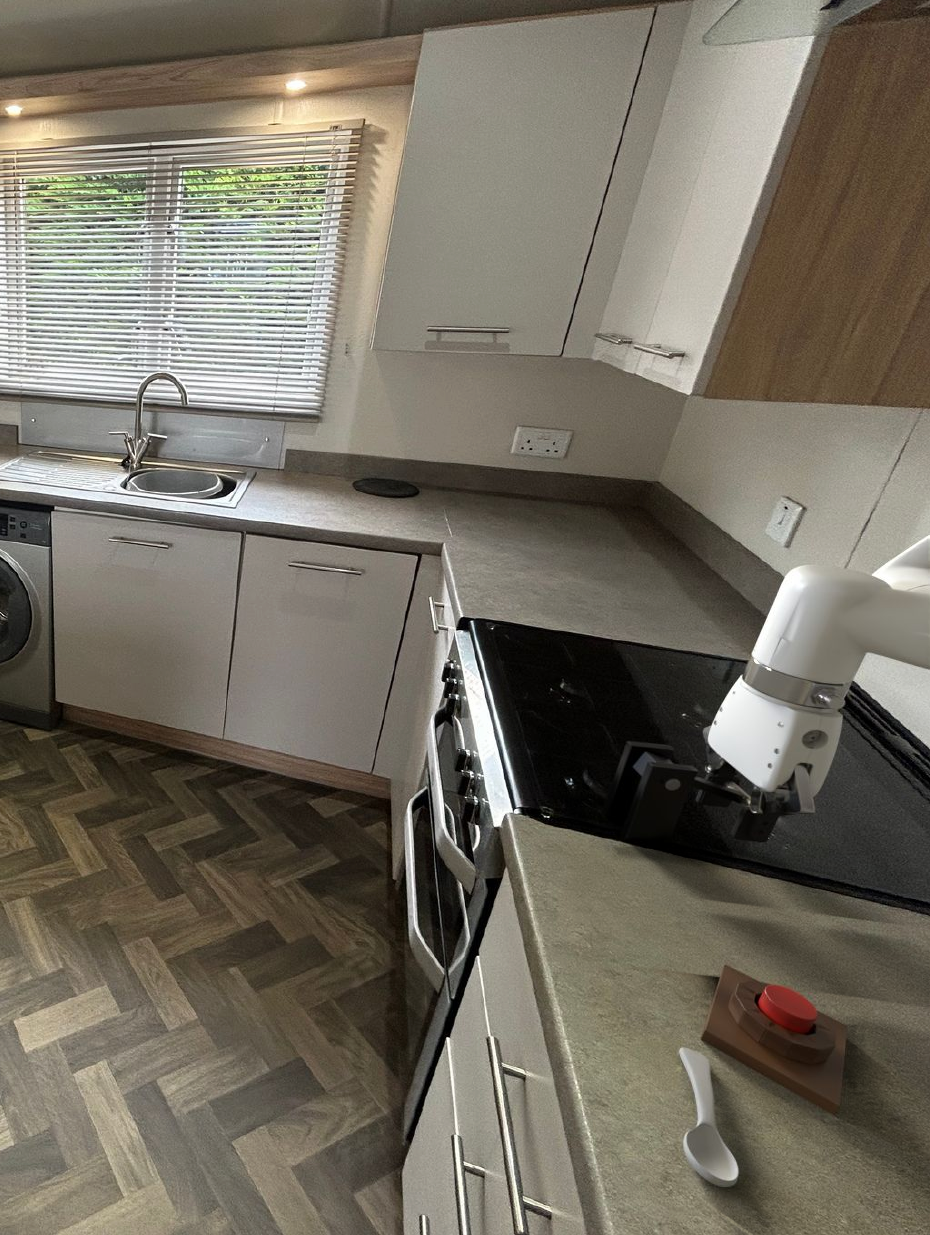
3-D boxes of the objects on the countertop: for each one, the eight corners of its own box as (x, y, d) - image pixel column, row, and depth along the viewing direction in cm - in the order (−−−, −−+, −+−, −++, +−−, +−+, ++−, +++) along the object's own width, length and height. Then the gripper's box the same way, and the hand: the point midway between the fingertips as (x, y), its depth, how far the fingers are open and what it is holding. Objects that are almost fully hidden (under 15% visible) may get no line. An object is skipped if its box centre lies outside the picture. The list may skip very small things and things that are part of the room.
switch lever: (726, 794, 81) (740, 778, 80) (758, 823, 77) (773, 807, 76) (625, 759, 82) (637, 743, 81) (650, 786, 77) (664, 769, 76)
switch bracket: (657, 819, 86) (690, 738, 82) (707, 873, 78) (746, 786, 73) (559, 808, 88) (586, 728, 83) (598, 859, 79) (630, 774, 75)
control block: (719, 972, 66) (731, 949, 65) (841, 1035, 60) (856, 1010, 59) (700, 1039, 60) (712, 1015, 59) (833, 1116, 54) (850, 1090, 53)
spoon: (682, 1176, 50) (691, 1157, 50) (666, 1052, 59) (674, 1035, 59) (737, 1206, 49) (748, 1186, 48) (712, 1074, 58) (720, 1056, 57)
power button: (759, 991, 61) (767, 977, 61) (811, 1018, 59) (819, 1003, 58) (754, 1014, 59) (762, 999, 59) (807, 1042, 57) (816, 1027, 56)
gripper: (912, 731, 65) (829, 882, 71) (771, 649, 80) (714, 779, 87) (819, 722, 66) (746, 871, 73) (698, 643, 82) (647, 771, 88)
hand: (729, 819), depth 80 cm, fingers closed on switch lever, 5 cm apart
